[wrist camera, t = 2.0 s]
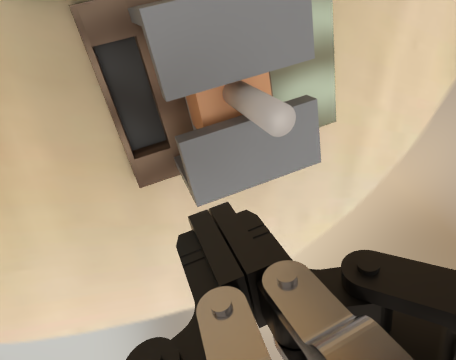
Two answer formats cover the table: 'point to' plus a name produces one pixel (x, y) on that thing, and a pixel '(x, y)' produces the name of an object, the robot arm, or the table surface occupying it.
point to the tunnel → (228, 73)
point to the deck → (177, 109)
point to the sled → (242, 106)
